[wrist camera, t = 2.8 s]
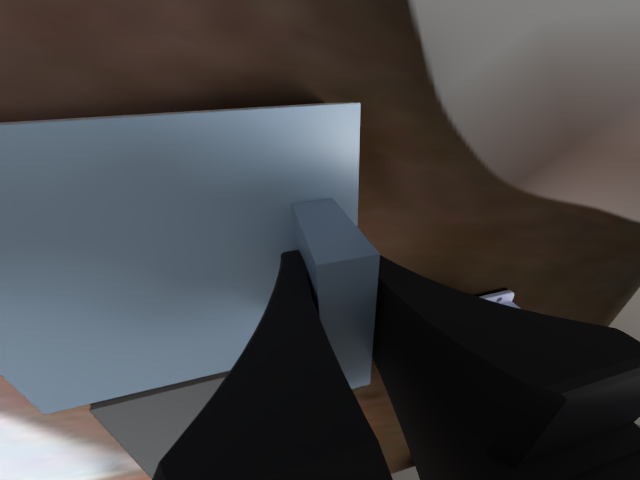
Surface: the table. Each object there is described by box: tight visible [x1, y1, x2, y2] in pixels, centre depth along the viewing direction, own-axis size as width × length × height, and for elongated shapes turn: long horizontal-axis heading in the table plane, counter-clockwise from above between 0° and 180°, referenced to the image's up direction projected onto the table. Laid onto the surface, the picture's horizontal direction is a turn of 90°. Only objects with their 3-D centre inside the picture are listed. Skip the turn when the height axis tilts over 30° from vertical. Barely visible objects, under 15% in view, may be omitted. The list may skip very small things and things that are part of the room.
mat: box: [89, 371, 229, 479], centre depth 21 cm, size 15×12×1 cm
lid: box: [0, 103, 380, 415], centre depth 8 cm, size 14×11×6 cm
